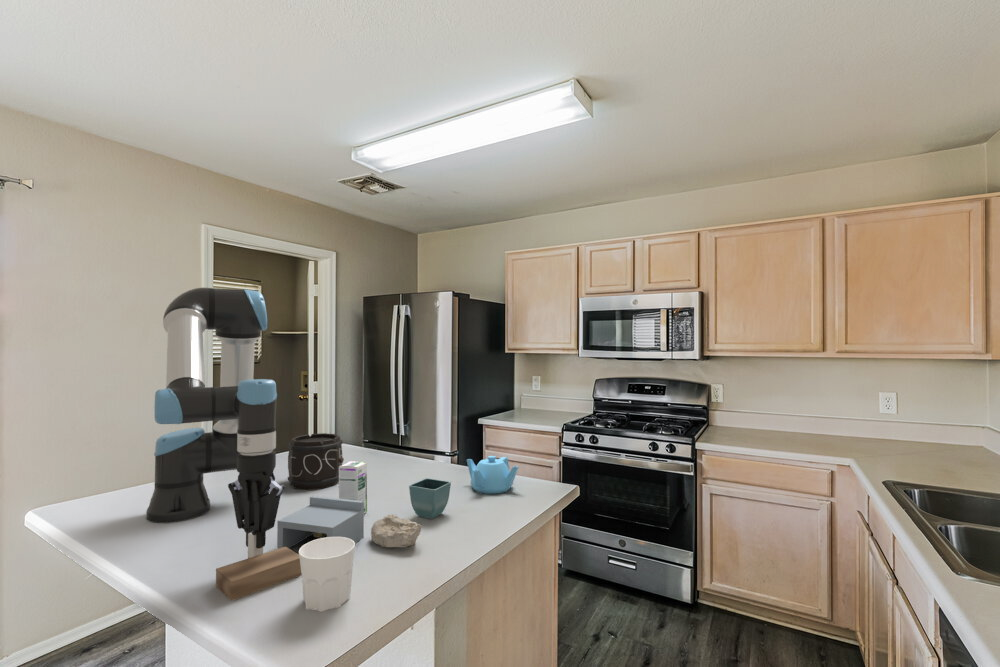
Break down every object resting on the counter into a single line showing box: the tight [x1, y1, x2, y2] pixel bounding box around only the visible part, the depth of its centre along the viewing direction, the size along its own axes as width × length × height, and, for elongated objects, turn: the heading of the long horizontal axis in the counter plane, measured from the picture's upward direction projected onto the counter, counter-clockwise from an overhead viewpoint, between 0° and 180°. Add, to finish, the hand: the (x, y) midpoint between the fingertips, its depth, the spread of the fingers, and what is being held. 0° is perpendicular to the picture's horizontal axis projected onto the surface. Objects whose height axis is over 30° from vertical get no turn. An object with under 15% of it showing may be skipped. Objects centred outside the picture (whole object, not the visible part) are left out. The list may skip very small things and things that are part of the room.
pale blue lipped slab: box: [276, 495, 365, 549], centre depth 118 cm, size 15×13×9 cm
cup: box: [298, 536, 356, 613], centre depth 93 cm, size 10×10×10 cm
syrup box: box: [338, 460, 368, 515], centre depth 138 cm, size 6×6×14 cm
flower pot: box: [408, 477, 452, 520], centre depth 138 cm, size 9×9×9 cm
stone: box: [370, 513, 422, 548], centre depth 118 cm, size 8×12×10 cm, turn 59°
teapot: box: [466, 455, 519, 495], centre depth 163 cm, size 15×15×11 cm
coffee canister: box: [286, 432, 345, 491], centre depth 169 cm, size 18×18×16 cm
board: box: [215, 547, 302, 602], centre depth 100 cm, size 8×14×4 cm, turn 139°
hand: (255, 562), depth 105 cm, fingers closed
